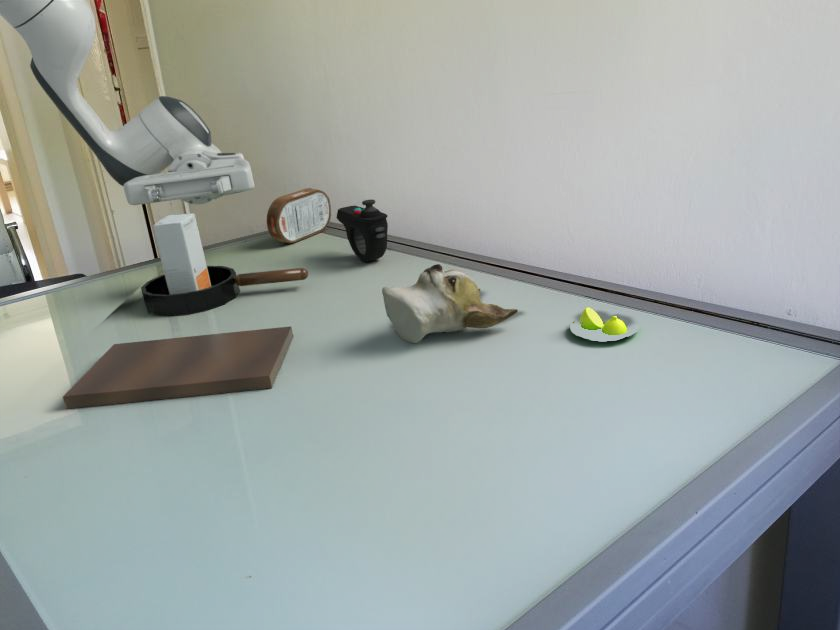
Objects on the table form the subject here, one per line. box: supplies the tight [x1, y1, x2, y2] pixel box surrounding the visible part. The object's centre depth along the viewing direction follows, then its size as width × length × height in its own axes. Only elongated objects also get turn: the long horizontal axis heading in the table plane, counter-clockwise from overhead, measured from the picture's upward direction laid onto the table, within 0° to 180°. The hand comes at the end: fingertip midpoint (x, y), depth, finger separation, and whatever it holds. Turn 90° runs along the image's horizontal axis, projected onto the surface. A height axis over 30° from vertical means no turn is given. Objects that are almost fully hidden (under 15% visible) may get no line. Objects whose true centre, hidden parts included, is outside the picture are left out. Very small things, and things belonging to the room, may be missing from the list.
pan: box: [140, 265, 309, 317], centre depth 107 cm, size 24×13×3 cm, turn 92°
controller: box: [336, 199, 389, 262], centre depth 117 cm, size 4×12×10 cm, turn 34°
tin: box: [266, 187, 332, 244], centre depth 133 cm, size 15×3×8 cm, turn 149°
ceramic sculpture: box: [381, 263, 519, 344], centre depth 86 cm, size 11×9×15 cm
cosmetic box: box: [152, 213, 211, 295], centre depth 105 cm, size 6×4×12 cm
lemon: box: [579, 307, 627, 335], centre depth 83 cm, size 8×8×3 cm
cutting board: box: [62, 325, 294, 410], centre depth 83 cm, size 22×14×2 cm, turn 93°
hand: (185, 192), depth 113 cm, fingers open, 8 cm apart
